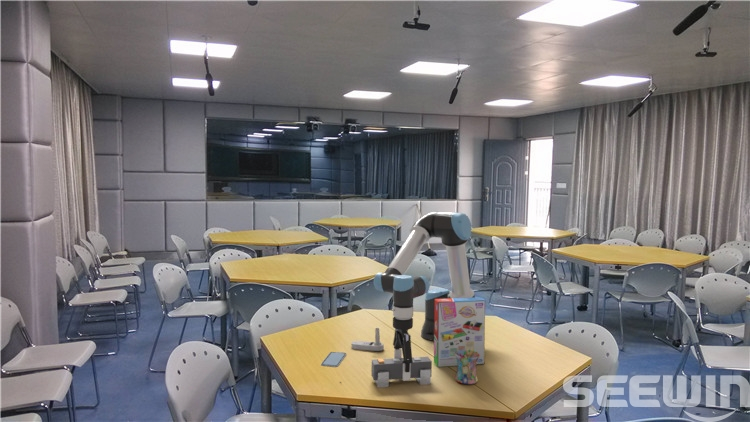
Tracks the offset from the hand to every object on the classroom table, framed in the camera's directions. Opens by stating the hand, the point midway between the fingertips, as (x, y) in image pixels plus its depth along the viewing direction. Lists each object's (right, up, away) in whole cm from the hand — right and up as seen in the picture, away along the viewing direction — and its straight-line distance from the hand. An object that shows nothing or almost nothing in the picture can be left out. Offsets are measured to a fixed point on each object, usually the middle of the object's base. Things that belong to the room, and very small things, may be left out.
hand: (401, 372), depth 179 cm
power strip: (0, -1, 0) cm, 1 cm away
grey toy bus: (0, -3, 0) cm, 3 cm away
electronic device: (-14, -2, +36) cm, 39 cm away
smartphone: (-27, -2, +21) cm, 35 cm away
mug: (+24, -4, 0) cm, 25 cm away
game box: (+25, -3, +19) cm, 32 cm away
